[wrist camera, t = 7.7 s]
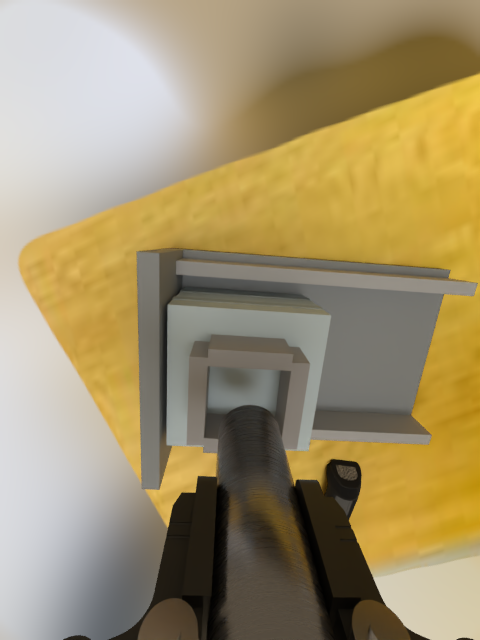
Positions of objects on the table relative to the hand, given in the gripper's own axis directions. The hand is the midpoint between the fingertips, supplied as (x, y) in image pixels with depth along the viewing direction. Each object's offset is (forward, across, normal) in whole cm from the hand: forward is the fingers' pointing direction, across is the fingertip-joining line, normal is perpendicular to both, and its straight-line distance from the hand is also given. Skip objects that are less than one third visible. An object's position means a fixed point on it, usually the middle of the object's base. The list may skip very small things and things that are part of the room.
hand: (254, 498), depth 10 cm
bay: (+17, -6, 0) cm, 17 cm away
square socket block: (+15, 0, 0) cm, 15 cm away
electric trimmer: (+17, -12, +20) cm, 29 cm away
